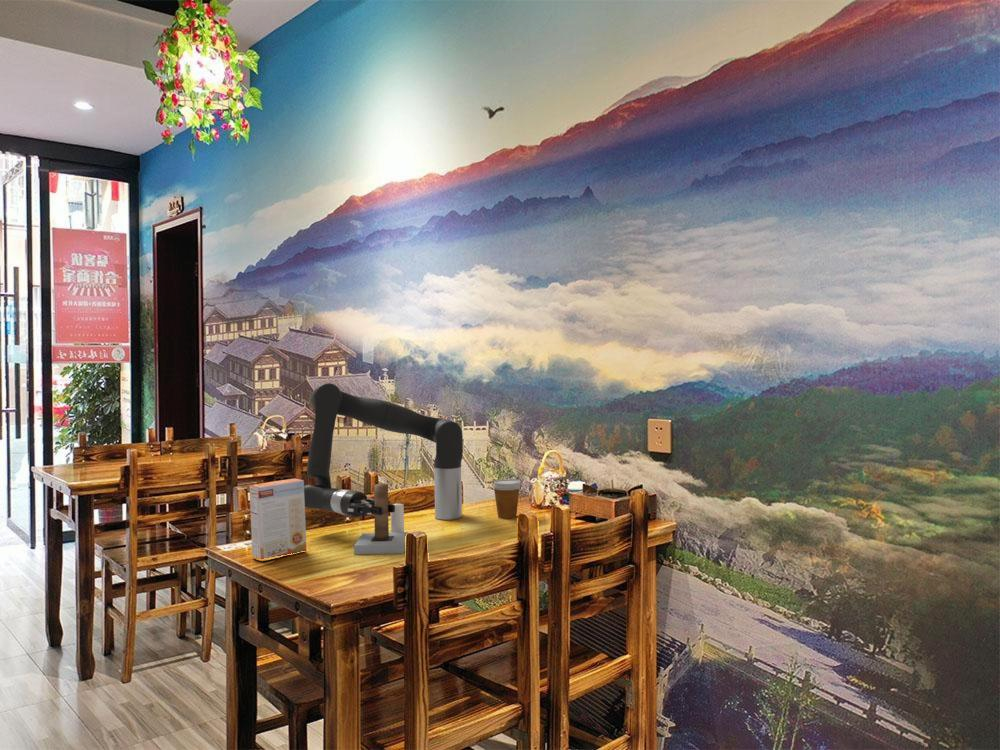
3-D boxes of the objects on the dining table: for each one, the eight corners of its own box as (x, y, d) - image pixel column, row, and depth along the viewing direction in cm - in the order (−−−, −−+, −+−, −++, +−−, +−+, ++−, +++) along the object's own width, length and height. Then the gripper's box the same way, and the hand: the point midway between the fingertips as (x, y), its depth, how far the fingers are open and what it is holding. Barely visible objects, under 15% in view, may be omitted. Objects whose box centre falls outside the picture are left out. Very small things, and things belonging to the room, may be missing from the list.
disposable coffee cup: (524, 518, 247) (523, 483, 246) (496, 520, 245) (496, 484, 244) (517, 512, 256) (516, 478, 256) (490, 514, 254) (489, 480, 253)
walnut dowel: (375, 537, 216) (375, 483, 215) (389, 537, 216) (388, 483, 215) (373, 541, 212) (373, 486, 211) (387, 541, 212) (386, 486, 211)
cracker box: (296, 549, 214) (294, 477, 213) (307, 552, 209) (305, 479, 209) (250, 559, 204) (248, 484, 203) (260, 563, 200) (258, 486, 199)
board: (362, 541, 221) (362, 533, 221) (409, 540, 221) (409, 532, 221) (354, 554, 207) (353, 545, 207) (403, 553, 207) (403, 544, 207)
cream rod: (392, 535, 227) (391, 503, 227) (405, 535, 227) (404, 503, 227) (390, 539, 223) (389, 506, 223) (403, 538, 223) (402, 506, 223)
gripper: (330, 494, 217) (369, 501, 206) (366, 486, 228) (405, 493, 217) (330, 519, 217) (369, 527, 206) (367, 510, 228) (406, 518, 217)
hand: (387, 510), depth 212 cm, fingers closed on walnut dowel, 4 cm apart
